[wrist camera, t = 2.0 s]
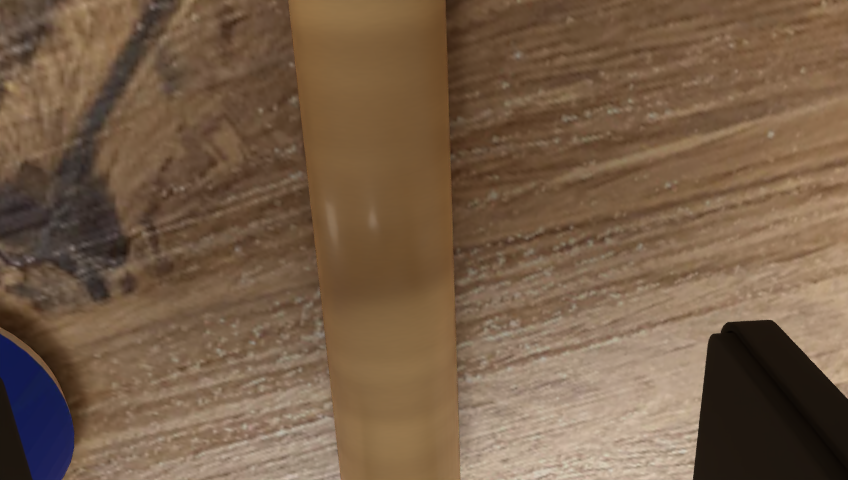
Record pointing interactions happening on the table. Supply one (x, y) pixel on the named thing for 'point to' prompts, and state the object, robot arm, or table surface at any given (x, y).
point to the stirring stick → (382, 229)
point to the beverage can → (37, 409)
